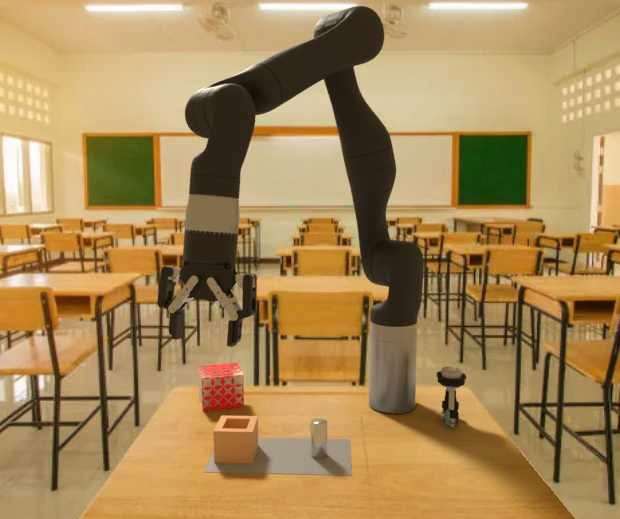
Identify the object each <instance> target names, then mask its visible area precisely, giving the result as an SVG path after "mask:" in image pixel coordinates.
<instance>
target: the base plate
mask: <svg viewBox="0 0 620 519" xmlns="http://www.w3.org/2000/svg"><path fill="white" fill-rule="evenodd" d="M351 456H352V455H351V439H350V438H327V457H326V458H324V459H314V458H312V457H311V437H310V438H309V437H308V438H306V437H304V438H303V437H263V436H260V437H259V436H258V448H257V451H256V455H255V458H254V462H253V463H223V462H214V449H213V450H212V452H211V454H210V457H209V459H208V461H207V463H206V465H205V467H204V469H203V473H214V474H215V473H218V474H220V473H222V474H223V473H224V474H225V473H226V474H260V475H261V474H262V475H263V474H264V475H306V476H307V475H309V476H347V477H349V476H350V477H351V476H353V473H352V457H351Z"/></svg>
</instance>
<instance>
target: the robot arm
mask: <svg viewBox="0 0 620 519" xmlns="http://www.w3.org/2000/svg"><path fill="white" fill-rule="evenodd" d="M384 42H385V29H384V25H383V22H382V19H381V18H380V16H379V14H378V13H377V12H376V10H374V9H372V8H370V7H369V6H364V5H356V6H351V7H348V8H345V9H342V10H340V11H337V12H333V13H330V14H327V15H325V16H323V17H321V18H320V19H319V20H318V21H317V22H316V25H315V26H314V31H313V38H311V39H308V40H306V41H303V42H302V43H299V44H297V45H296V44H295V45H293V46H291V47H288V48H286V49H285V48H284V49H283V50H281V51H278V52H276V53H274V54H271V55H270V56H268V57H265V58H264V59H261V60H260V61H257V63H254V64H252V65H251V66H249V67H248V68H247V67H246V69H244V70H243V71H240V72H238V73H237V74H233V75H232V76H229V77H227V78H224V79H221V80H218V81H216V82H214V83H211V84H208V85H206V86H204V87H203V88H200V89H199V90H197V91H196V92H194V93H193V94H192V95H191V96H190V98H189V99H188V101H187V102H186V106H185V109H184V119H185V122H186V125H187V127H188V128H189V129H190V131H191V132H192V133H193V134H194V135H196V136H198V137H200V138H203V139H207V141H206V142H207V143H206V146H205V149H204V150H203V151H202V152H200V153H199V154H197V155H196V156H194V157H193V159H192V161H191V163H190V164H191V166H190V172H189V188H188V189H189V190H188V194H189V195H188V198H187V205H186V210H185V217H184V218H185V219H184V232H183V233H184V236H183V250H182V252H183V253H182V260H183V261H182V262H183V263H182V266H181V268H180V267H176V266H175V265H165V266H162V267H161V269H160V277H159V286H158V293H157V306H158V307H159V308H163V309H165V310H166V311H168V313H169V321H168V322H169V323H168V333H169V335H170V337H171V340H180V339H182V338H183V337H184V336H183V335H184V324H185V312H183V310H185V308H186V307H187V305H189V303H190V302H191V301H193V300H196V301H200V300H202V301H203V300H205V301H208V302H212V303H214V302H218V303H219V305H220V306H221V307H222V308H223V309H224V310H225V313H227V315H228V317H229V319H230V320H228V323H227V338H226V346H227V347H229V348H230V347H231V348H234V347H235V346H237V344H238V343H240V341H241V340H242V334H243V333H242V330H243V321H244V320H245V318H249V317H250V318H251V317H252V316H255V315H256V314H257V297H258V296H257V294H258V293H257V292H258V290H257V289H258V287H257V286H258V283H257V282H258V276H257V275H256V273H254V272H253V273H246V274H238V272H237V270H236V264H237V256H238V244H239V243H238V241H239V228H240V227H239V226H240V192H241V191H240V190H241V189H240V188H241V172H242V167H243V164H244V163H245V160H246V157H247V153H248V150H249V147H250V145H251V141H252V138H253V134H254V129H255V125H256V116H259V115H264V114H267V113H270V112H272V111H274V110H275V109H277V108H279V107H281V106H282V105H283V104H285V103H287V102H289V101H290V100H291V99H293V98H295V97H296V96H298V95H299V94H301V93H303V92H304V91H306V90H307V89H310V88H311V87H312V86H314V85H315V84H318V83H320V82H321V81H323V82H324V85H325V88H326V92H327V94H328V98H329V102H330V104H331V108H332V112H333V115H334V120H335V125H336V129H337V133H338V137H339V138H338V139H339V141H340V147H341V154H342V158H343V164H344V167H345V172H346V173H345V174H346V176H347V179H348V180H347V181H348V183H349V187H350V192H351V199H352V204H353V209H354V214H355V220H356V226H357V228H356V229H357V237H358V244H359V254H360V261H361V266H362V271H363V273H364V275H365V278H366V279H367V280H368V281H369V282H370V283H372V284H374V285H377V286H382V287H386V288H387V287H388V292H387V298H386V300H385V301H383V302H380V303H379V302H378V303H376V304H374V305H372V307H371V308H370V313H369V323H370V324H369V369H368V371H369V373H368V375H369V377H368V378H369V380H368V381H369V384H368V405H369V407H370V408H372V409H373V410H376V411H377V412H378V411H379V412H380V413H381V412H382V413H384V414H385V413H387V414H404V413H409V412H411V411H413V410H414V409H415V408H416V389H417V387H416V384H417V355H418V354H417V353H418V352H417V350H418V349H417V348H418V346H417V345H418V344H417V343H418V316H419V312H420V309H421V306H422V300H423V299H422V298H423V286H424V285H423V284H424V274H425V271H424V270H425V261H424V255H423V251H422V250H421V249H422V248H420V247H419V245H418V244H417V243H415V242H411V241H406V240H398V239H396V240H394V239H391V237H390V233H389V229H388V222H387V207H388V204H389V200H390V197H391V195H392V191H393V188H394V186H395V185H394V184H395V183H396V182H395V181H396V176H397V165H396V159H395V153H394V149H393V147H394V146H393V143H392V139H391V135H390V133H389V131H388V129H387V128H386V126H385V124H384V123H383V122H382V120H381V119H380V118H379V116H378V115H377V114H376V113H375V112H374V110H373V109H372V108H371V107H370V105H369V104H368V103H367V101H366V100H365V98H364V97H363V94H362V92H361V90H360V88H359V83H358V81H357V76H356V71H355V68H354V67H355V66H360V65H365V64H366V63H368V62H371V61H372V60H374V59H375V58H377V56H378V55H379V54H380V52H381V51H382V49H383V47H384ZM179 279H180V280H181V282H182V283H183V287H182V288H181V289H180V291H179V292H178V293H177V294H176V296H175V289H176V288H175V287H176V282H177V281H178V280H179ZM236 283H238V287H239V288H240V290H242V298H241V300H242V304H241V306H242V307H241V306H240V304H239V300H238V297H237V296H236V295H235V293H234V291H233V290H232V289H233V288H234V286H235V285H236ZM174 296H175V298H174Z"/></svg>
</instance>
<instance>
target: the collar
mask: <svg viewBox="0 0 620 519" xmlns="http://www.w3.org/2000/svg"><path fill="white" fill-rule="evenodd" d="M258 437H259V416H258V415H220V418H219V419H218V421H217V424H216V425H215V428H214V429H213V450H214V462H223V463H253V462H254V458H255V455H256V451H257V448H258Z"/></svg>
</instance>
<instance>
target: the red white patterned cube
mask: <svg viewBox="0 0 620 519" xmlns="http://www.w3.org/2000/svg"><path fill="white" fill-rule="evenodd" d="M244 382H245V381H244V373H243V371H242V368H241V367H240V365H239V362H231V363H230V362H228V363H227V362H226V363H216V364H203V365H201V364H200V365H198V389H199V391H198V395H199V405H201V406H202V407H201V408H202V411H211V410H221V409H223V410H224V409H231V408H242V407H244V406H245V404H244V403H245V400H244V399H245V396H244V395H245V393H244V391H245V390H244V389H245V387H244Z"/></svg>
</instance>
